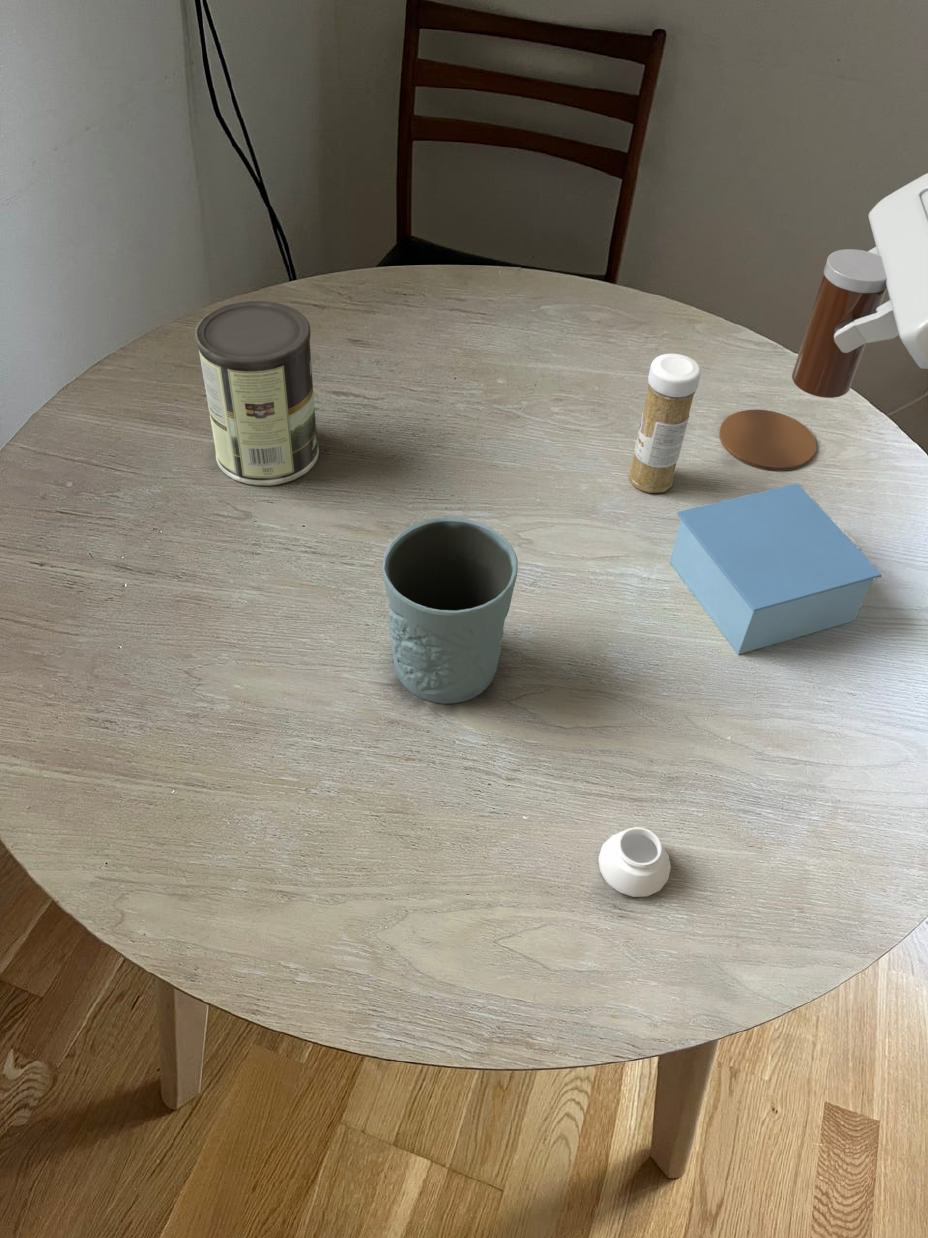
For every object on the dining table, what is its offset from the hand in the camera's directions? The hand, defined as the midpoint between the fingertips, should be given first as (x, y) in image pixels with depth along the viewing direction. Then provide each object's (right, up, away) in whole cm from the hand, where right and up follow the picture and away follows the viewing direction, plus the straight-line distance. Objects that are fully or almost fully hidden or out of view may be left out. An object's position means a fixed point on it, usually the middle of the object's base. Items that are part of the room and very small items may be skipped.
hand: (833, 321), depth 79 cm
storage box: (-1, -20, +15) cm, 25 cm away
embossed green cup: (-30, -27, +7) cm, 41 cm away
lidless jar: (-16, -41, -5) cm, 44 cm away
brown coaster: (+4, -4, +30) cm, 31 cm away
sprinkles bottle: (-10, -9, +25) cm, 28 cm away
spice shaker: (0, -4, +4) cm, 5 cm away
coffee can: (-48, -6, +25) cm, 54 cm away
